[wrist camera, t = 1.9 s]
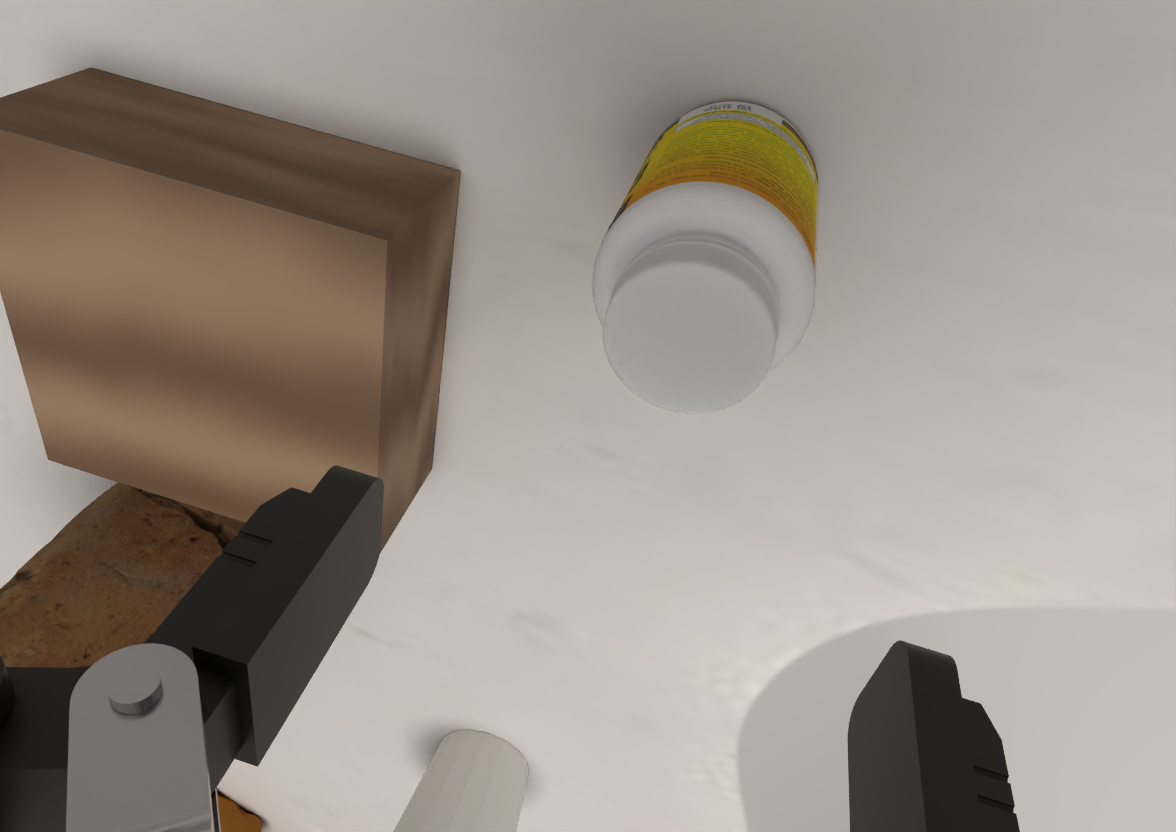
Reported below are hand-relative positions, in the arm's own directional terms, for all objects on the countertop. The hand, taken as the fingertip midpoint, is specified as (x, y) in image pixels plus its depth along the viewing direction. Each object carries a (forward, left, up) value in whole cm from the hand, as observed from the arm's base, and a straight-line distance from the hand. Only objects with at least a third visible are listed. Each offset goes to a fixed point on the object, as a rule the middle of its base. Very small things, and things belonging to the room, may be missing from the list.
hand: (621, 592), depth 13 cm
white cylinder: (+38, -4, -18) cm, 42 cm away
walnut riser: (+9, -16, -18) cm, 26 cm away
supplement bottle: (0, 0, -18) cm, 18 cm away
